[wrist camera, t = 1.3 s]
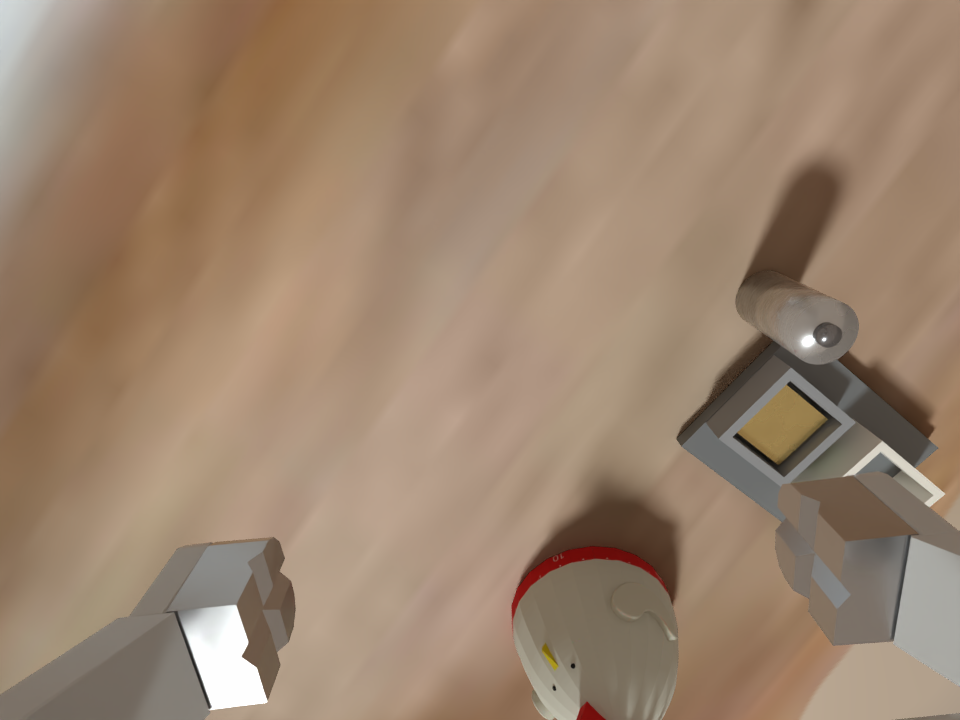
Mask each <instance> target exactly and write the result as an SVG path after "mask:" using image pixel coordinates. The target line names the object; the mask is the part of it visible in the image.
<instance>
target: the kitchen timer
mask: <svg viewBox="0 0 960 720" xmlns="http://www.w3.org/2000/svg"><path fill="white" fill-rule="evenodd" d="M512 628H513V638H514V643H515V646H516V649H517V652H518V655H519V657H520V659H521V662H522V664H523V667H524V669H525V671H526V674H527V676H528V678H529V680H530V682H531V684H532V686H533V688H534V690H533V691H532V700H533V703H534V705H535V707H536V709H537V710H538V711H539V713H540V714H541V715H542V716H543V717H544V718H546V719H548V720H552V719H553V718H554V717H555V718H556V719H557V720H662V718H663V716H664V714H665V712H666V710H667V708H668V706H669V704H670V702H671V699H672V697H673V693H674V690H675V686H676V679H677V669H678V628H677V622H676V617H675V614H674V610H673V607H672V603H671V600H670V596H669V593H668V591H667V589H666V586H665V584H664V582H663V580H662V579H661V578H660V576H659V575H658V574H657V572H656V571H655V570H654V568H653V567H652V566H651V565H649V564H648V563H646V562H645V561H644V560H642V559H641V558H639V557H638V556H636V555H634V554H631V553H628V552H625V551H622V550H619V549H616V548H608V547H595V546H590V547H584V548H578V549H572V550H567V551H565V552H563V553H560V554H558V555H555V556H553V557H551V558H548V559H546V560H545V561H544V562H542V563H541V564H540V565H538V566H537V567H536V568H534V569H533V570H532V571H531V572H529V574H528V575H527V576H526V578H525V579H524V580H523V582H522V583H521V584H520V586H519V587H518V588H517V591H516V594H515V597H514V600H513V603H512Z"/></svg>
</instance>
